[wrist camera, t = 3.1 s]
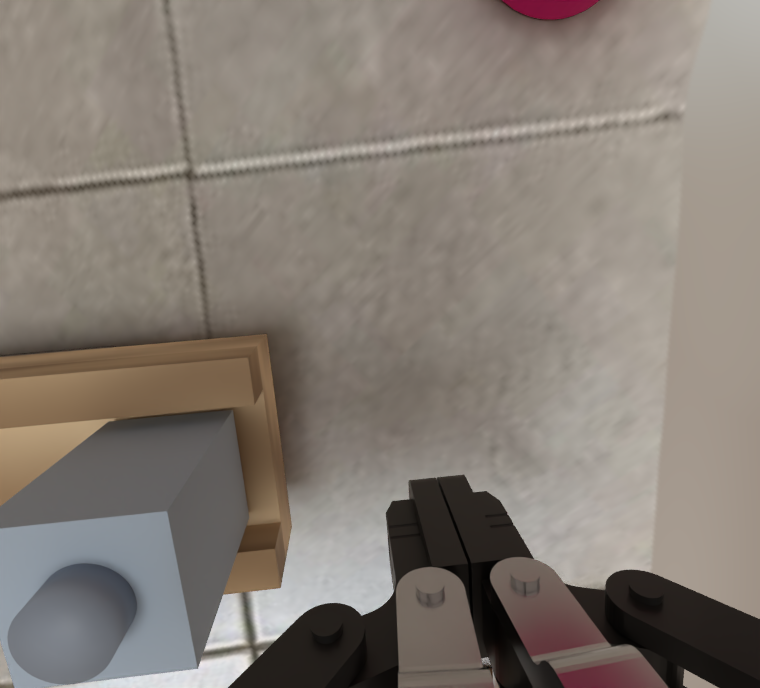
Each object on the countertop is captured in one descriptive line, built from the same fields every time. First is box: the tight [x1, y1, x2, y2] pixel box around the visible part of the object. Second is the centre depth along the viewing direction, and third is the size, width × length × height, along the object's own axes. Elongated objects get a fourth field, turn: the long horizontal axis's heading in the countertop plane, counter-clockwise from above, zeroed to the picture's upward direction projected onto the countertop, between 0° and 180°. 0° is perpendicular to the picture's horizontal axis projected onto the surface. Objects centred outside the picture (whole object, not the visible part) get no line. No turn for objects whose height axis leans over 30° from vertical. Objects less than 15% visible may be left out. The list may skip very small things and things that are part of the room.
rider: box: [0, 410, 249, 688], centre depth 13 cm, size 4×4×7 cm
